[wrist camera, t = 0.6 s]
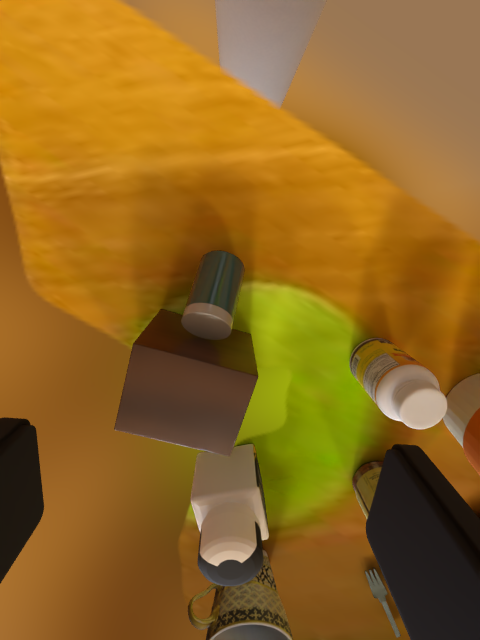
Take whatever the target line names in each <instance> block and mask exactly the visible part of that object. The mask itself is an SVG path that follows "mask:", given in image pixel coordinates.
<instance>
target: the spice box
mask: <svg viewBox="0 0 480 640" xmlns="http://www.w3.org/2000/svg"><path fill="white" fill-rule="evenodd" d="M182 316H183V315H181V314H177V313H174V312H170V311H167V310H163V309H161V310H160V311H159V312H158V313H157V315H156V316H155V317H154V318H153V320H152V321H151V322H150V323H149V325H148V326H147V327H146V328H145V330H144V331H143V332H142V333H141V335H140V336H139V337H138V338H137V340H136V341H135V342H134V343H133V347H132V351H131V356H130V360H129V365H128V369H127V374H126V378H125V383H124V387H123V392H122V396H121V401H120V405H119V410H118V414H117V419H116V423H115V428H114V429H115V430H118V431H122V432H126V433H131V434H135V435H139V436H144V437H148V438H152V439H156V440H161V441H165V442H169V443H174V444H178V445H182V446H186V447H191V448H195V449H199V450H204V451H208V452H212V453H216V454H221V455H225V456H230V455H231V453H232V450H233V447H234V444H235V441H236V438H237V436H238V433H239V430H240V427H241V424H242V421H243V419H244V416H245V413H246V410H247V407H248V405H249V402H250V399H251V396H252V393H253V390H254V388H255V385H256V382H257V379H258V372H257V366H256V360H255V355H254V349H253V343H252V337H251V334H249V333H245V332H242V331H238V330H235V329H232V331H231V334H230V335H229V336H228V337H227V338H225V339H221V340H209V339H204V338H200V337H198V336H195V335H193V334H191V333H190V332H188V331H187V330H186V329H185V328H184V327H183V325H182V323H181V319H182Z"/></svg>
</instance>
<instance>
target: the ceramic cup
mask: <svg viewBox="0 0 480 640" xmlns="http://www.w3.org/2000/svg"><path fill="white" fill-rule="evenodd" d="M214 588H215V589H216V592H215V597H214V602H213V606H212V612H211V615H210V617H208V618H207V619H199V618H197V617H196V616H195V615H194V613H193V610H192V605H193V602H194V601H195V600H197V599H199V598H201V597H203V596H204V595H206V594H208V593H209V592H210V591H211V590H212V589H214ZM188 615H189V619H190V622H191V624H192V625H193V626H194V627H195V628H197V629H200V630H203V629H206V628H208V631H207V636H206V640H293V638H292V634H291V630H290V627H289V623H288V620H287V616H286V613H285V610H284V607H283V605H282V602H281V600H280V597H279V595H278V591H277V588H276V585H275V581H274V577H273V573H272V569H271V566H270V562H269V559H268V555H267V553H266V551H265V550H263V566H262V568H261V570H260V571H259V573H258V574H257V575H256V577H254V578H253V579H252V580H251V581H249V582H247V583H245V584H242V585H238V586H221V585H218V584H215V583H214V584H212V585H211V586H210V587H208V588H207V589H206V590H205V591H203V592H201V593H199V594H197V595H195V596H194V597H193V598H192V599H191V601H190V602H189V605H188Z"/></svg>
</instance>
